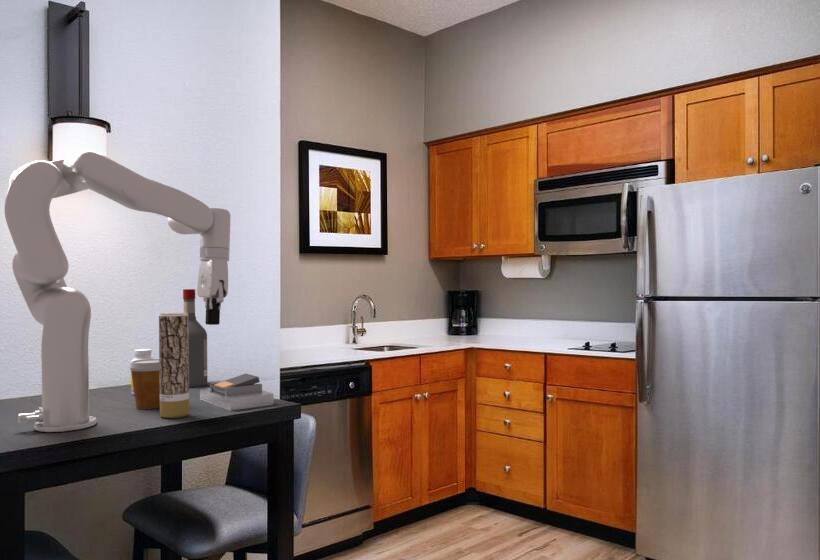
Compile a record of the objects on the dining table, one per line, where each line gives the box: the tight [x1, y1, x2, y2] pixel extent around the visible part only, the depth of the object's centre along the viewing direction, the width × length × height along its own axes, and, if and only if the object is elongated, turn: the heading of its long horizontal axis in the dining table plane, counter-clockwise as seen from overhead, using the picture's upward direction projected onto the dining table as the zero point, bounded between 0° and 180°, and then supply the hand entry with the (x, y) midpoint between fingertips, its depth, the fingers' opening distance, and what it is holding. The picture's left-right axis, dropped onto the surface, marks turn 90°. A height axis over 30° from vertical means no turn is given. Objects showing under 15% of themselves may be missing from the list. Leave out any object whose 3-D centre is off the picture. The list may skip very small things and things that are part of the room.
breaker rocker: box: [212, 373, 260, 394], centre depth 180 cm, size 10×8×2 cm
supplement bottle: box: [130, 348, 154, 396], centre depth 194 cm, size 7×7×13 cm
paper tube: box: [158, 312, 190, 419], centre depth 163 cm, size 7×7×25 cm
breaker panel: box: [199, 381, 274, 412], centre depth 180 cm, size 12×20×5 cm, turn 39°
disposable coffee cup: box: [129, 358, 160, 410], centre depth 174 cm, size 10×10×12 cm
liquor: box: [182, 288, 208, 389], centre depth 209 cm, size 9×9×30 cm
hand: (212, 324), depth 177 cm, fingers closed
